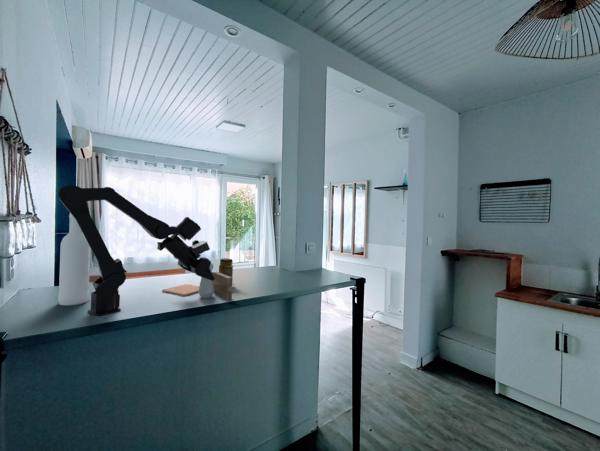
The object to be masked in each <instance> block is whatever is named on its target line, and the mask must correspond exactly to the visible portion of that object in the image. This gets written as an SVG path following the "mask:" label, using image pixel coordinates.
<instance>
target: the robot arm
mask: <svg viewBox="0 0 600 451" xmlns="http://www.w3.org/2000/svg"><path fill="white" fill-rule="evenodd" d="M58 199H59V201H60V202H61V203H62V204H63V206H64V207H65V208H66V210H67V211H68V212H69V214H70V213H71V214H72V215H73V217H74V218H75V219H76V221H77V223H78V225H79V227H80V229H81V231H82V233H83V235H84V236H85V238H86V240H87V242H88V244H89V246H90V251H92V253H93V256H94V257H95V259H96V262H97V266H98V272H99V275H100V276H99V277H98V278H97V279H96V280H95V281H94V282H92V286H93V289H94V290H95V291H91V292H90V309H88V310H87V313H90V314H92V315H94V316H97V317H99V316H104V315H107V314H111V313H112V314H113V313H115V312H121V311H122V308H120V304H121V302H120V301H121V295H120V294H119V288H120V287H121V286H122V285H124V283H125V281H126V279H127V276H126V274H127V273H128V271H127V270H125V268H124V265H123V262H122V260H121V259H120V258H116V259H114V257H113V256H112V255H111V253H110V251H109V250H108V247H107V245H106V244H105V242H104V240H103V237H102V236H101V233H100V231H99V229H98V227H97V225H96V223H95V222H94V220H93V218H92V215H91V212H90V209H89V204H88V202H95V201H105V202H107V203H109V204H110V205H111V206H112V207H114V208H116V210H118V211H120V212H122V213H123V214H125V215H126V216H128V217H129V218H130V219H131V220H133V221H134V222H136V223H137V224H138V225H140V227H141V228H142V229H143V230H144V232H146V233H147V234H148V235H149V236H151V237H152V238H153V239H157V240H162V241H160V242H159V241H157V246H156V249H157V250H158V251H161V252H162V251H164V249H165V250H167V252H169V253H170V254H171V255H172V256H173V258H174V259H175V260H177V265H178V266H179V267H180V268H182V269H183V270H185V271H188V272H191V273H193V274H194V275H196V276H198V277H200V278H201V277H203V278H206V279H209V280H212V281H213V280H214V279H215V278H214V276H213V274H212V273H211V271H210V269H209V267H210V265H211V263H212V261H211V260H210V259H209V258H207V257H201V254H203V253H205V252H208V251H210V249H211V248H210V246H209V243H208V241H206V240H200V241H199V240H197V239H195V240H193V241H192V243H191V246H189V245H188V244H187V243H186V242H184V241H191V239H193V238H194V237H195V236H196V235H197V234H198V233H199V232H200V231H201V230H202V228H201V226H200V225H199V224H198V223H197V222H195V221H194V220H193V219H191V218H190V217H189V216H186V217H184V218H183V219H182V221H180V223H179V224H178V225H176V226H173V225H171V226H170V225H169V224H168V223H166V222H164V221H163V220H160V219H158V218H157V217H154V216H151V215H149V214H148V213H146V212H145V211H144V210H142V209H140V208H139V207H138V206H137V205H135V204H134V203H132V202H131V201H129V200H128V199H127V198H125V197H124V196H123V195H121V194H120V193H118V192H117V191H116V190H115V189H114V188H112V187H110V186H105V187H84V188H83V187H80V186H77V185H75V184H67V185H64V186H63V187H61V188H60V190H58Z"/></svg>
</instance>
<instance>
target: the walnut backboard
mask: <svg viewBox="0 0 600 451" xmlns="http://www.w3.org/2000/svg"><path fill="white" fill-rule="evenodd" d="M212 274H213V276H214V278H215V279H214V280H213V284H214V293H213V294H215V295H218V296H220V297H221V298H223V299H225V300H232V299H233V297H232V296H233V288H232V284H233V279H234V277H233V276H232V277H230V276H227V275H224V274H222V273H219V271H212Z"/></svg>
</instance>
